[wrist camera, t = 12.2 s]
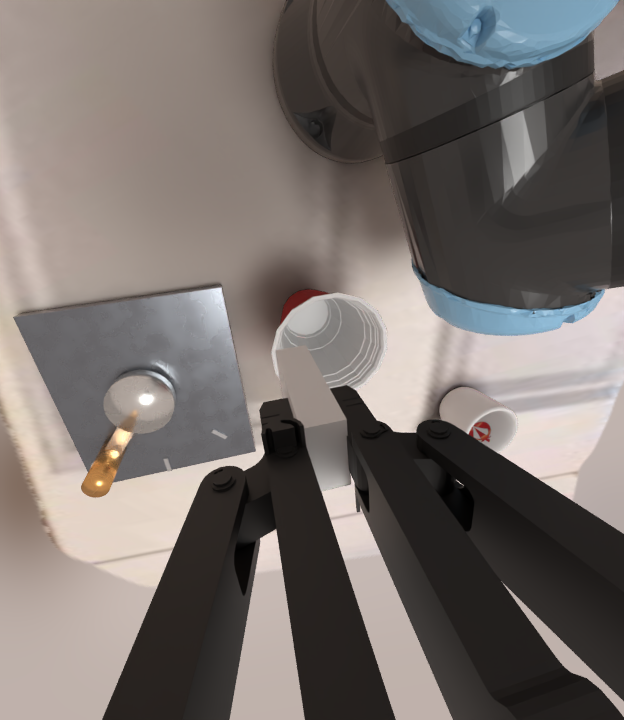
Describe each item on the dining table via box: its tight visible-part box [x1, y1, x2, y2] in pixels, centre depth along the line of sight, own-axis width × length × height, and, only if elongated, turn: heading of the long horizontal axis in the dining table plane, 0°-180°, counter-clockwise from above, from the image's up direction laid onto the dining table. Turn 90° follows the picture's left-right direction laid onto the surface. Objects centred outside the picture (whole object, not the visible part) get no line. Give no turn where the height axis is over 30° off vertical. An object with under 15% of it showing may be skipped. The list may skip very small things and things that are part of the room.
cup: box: [439, 387, 518, 453], centre depth 49 cm, size 11×8×8 cm
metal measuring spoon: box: [81, 370, 176, 497], centre depth 38 cm, size 13×7×6 cm, turn 146°
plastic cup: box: [271, 289, 387, 390], centre depth 36 cm, size 11×11×12 cm
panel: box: [13, 285, 256, 483], centre depth 41 cm, size 22×20×2 cm
